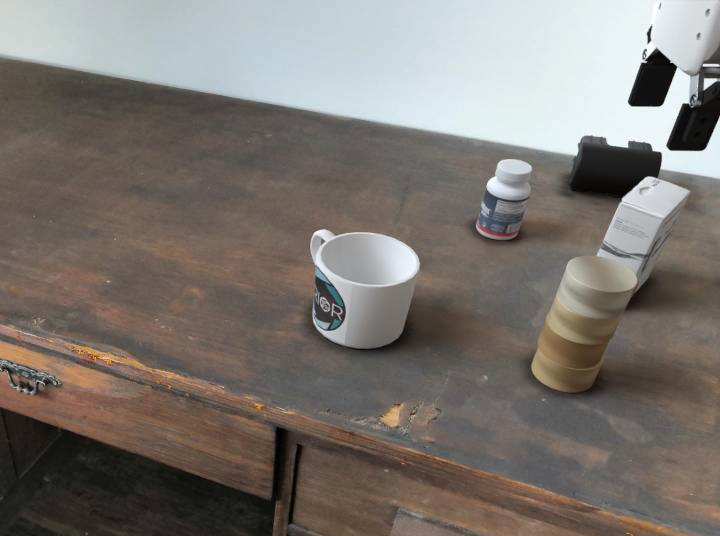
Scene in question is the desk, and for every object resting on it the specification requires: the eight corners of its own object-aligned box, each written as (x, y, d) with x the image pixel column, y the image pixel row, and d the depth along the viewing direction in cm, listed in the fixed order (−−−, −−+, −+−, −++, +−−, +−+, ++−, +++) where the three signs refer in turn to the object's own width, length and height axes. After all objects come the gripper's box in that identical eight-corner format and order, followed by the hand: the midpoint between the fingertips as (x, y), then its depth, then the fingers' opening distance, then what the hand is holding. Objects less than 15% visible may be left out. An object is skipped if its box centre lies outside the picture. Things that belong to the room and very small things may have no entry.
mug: (427, 328, 83) (442, 265, 78) (355, 364, 79) (367, 299, 73) (342, 272, 92) (350, 211, 86) (272, 301, 87) (277, 239, 82)
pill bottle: (474, 218, 101) (491, 154, 96) (515, 222, 101) (535, 158, 95) (476, 238, 98) (494, 173, 92) (519, 243, 97) (540, 177, 91)
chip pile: (583, 355, 80) (603, 307, 76) (601, 394, 76) (623, 346, 72) (522, 351, 81) (539, 304, 77) (536, 391, 76) (555, 343, 72)
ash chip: (613, 283, 74) (625, 256, 72) (634, 321, 70) (647, 293, 68) (549, 280, 75) (559, 253, 73) (566, 317, 70) (577, 290, 68)
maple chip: (602, 309, 76) (613, 283, 74) (622, 347, 72) (634, 321, 70) (540, 305, 77) (549, 280, 75) (556, 343, 72) (566, 317, 70)
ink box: (623, 311, 86) (665, 216, 78) (578, 294, 89) (616, 200, 81) (650, 280, 91) (693, 187, 83) (608, 264, 93) (645, 172, 86)
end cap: (566, 198, 106) (582, 151, 101) (564, 175, 111) (580, 129, 106) (645, 209, 104) (665, 162, 99) (639, 185, 109) (658, 139, 104)
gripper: (860, -62, 53) (748, 169, 65) (745, -109, 66) (669, 91, 78) (747, -62, 54) (656, 168, 65) (655, -108, 67) (592, 90, 78)
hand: (663, 126), depth 71 cm, fingers open, 9 cm apart
